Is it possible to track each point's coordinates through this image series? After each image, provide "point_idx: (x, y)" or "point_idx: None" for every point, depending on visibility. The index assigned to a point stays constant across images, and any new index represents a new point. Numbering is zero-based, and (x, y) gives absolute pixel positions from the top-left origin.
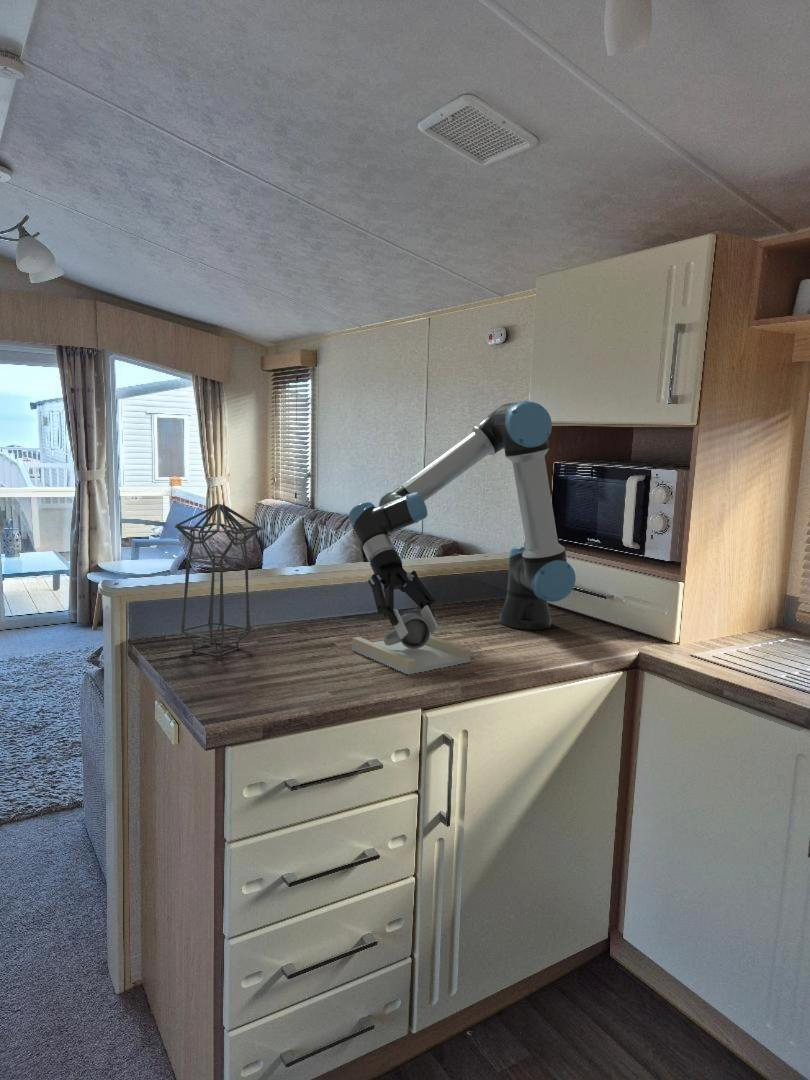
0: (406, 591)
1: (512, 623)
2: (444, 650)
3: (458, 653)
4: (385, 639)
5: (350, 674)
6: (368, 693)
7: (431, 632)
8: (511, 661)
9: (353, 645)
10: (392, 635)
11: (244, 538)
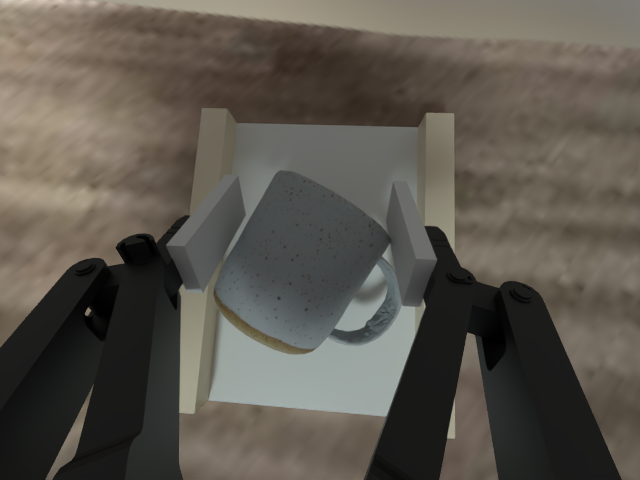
0: (170, 446)
1: None
2: None
3: (230, 141)
4: (382, 321)
5: (574, 223)
6: (612, 85)
7: (243, 212)
8: (123, 83)
9: None
10: (339, 333)
11: None
